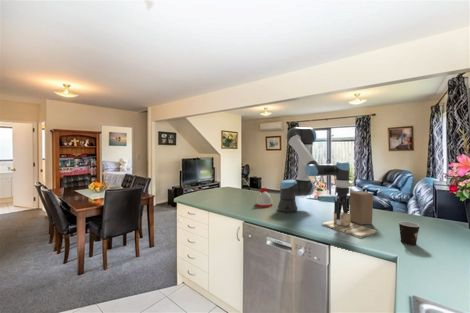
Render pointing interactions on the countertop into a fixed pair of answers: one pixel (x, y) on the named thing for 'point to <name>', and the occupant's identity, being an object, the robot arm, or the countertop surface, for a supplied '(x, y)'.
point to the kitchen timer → (264, 199)
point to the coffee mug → (408, 232)
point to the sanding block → (343, 219)
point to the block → (361, 207)
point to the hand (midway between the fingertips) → (341, 223)
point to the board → (351, 229)
